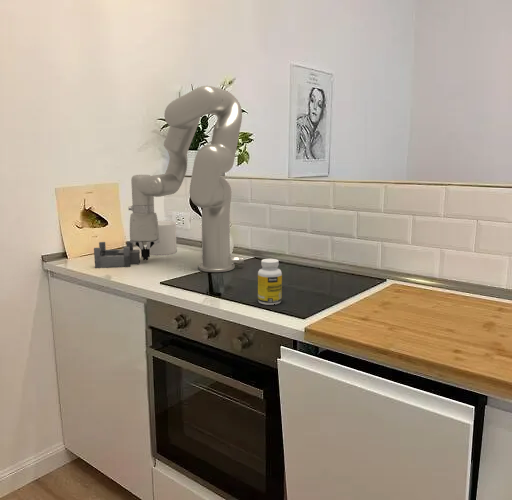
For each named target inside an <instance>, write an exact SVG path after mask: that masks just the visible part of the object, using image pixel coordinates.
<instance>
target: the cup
mask: <svg viewBox="0 0 512 500" xmlns="http://www.w3.org/2000/svg"><path fill="white" fill-rule="evenodd" d="M176 225H177V224H176V221H174V220H173V221H172V220H158V227H159V239H160V243H158V244H154V245H153V246H152V247H151V248H150V256H152V255H153V256H169V255H173V254H176V253H177V226H176Z"/></svg>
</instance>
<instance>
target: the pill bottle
mask: <svg viewBox="0 0 512 500" xmlns="http://www.w3.org/2000/svg"><path fill="white" fill-rule="evenodd" d="M279 262H280V261H279V259H276V258H265V259H261V262H260V263H261V267H262V268H259V270H258V271H257V301H258V303H259V304H262V305H266V306H274V304H275V305H279V304H280V303H281V302H282V298H283V297H282V296H283V295H282V293H283V291H282V289H283V288H282V287H283V284H282V283H283V273H282V269H280V268H279V265H280V263H279Z"/></svg>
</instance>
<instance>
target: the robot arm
mask: <svg viewBox="0 0 512 500" xmlns="http://www.w3.org/2000/svg"><path fill="white" fill-rule="evenodd" d="M163 114H164V120H165V122H166V124H167V125H168V126H169V127H168V130H167V133H166V136H165V138H164V141H163V146H164V148H165V149H166V151H167V152H168V157H169V162H168V166H167V168H166V170H165V173H160V174H153V175H150V174H134V175H132V177H131V201H132V205H130V206H128V211H131V212H132V213H130V217H129V239H130V240H129V241H130V244H133V246H137V247H138V248H139V250H140V257H141V258H142V261H148V260H149V258H150V257H151V255H150V248H151V247H152V246H153V245H154V244H158V243H160V239H159V227H158V221H159V220H158V214H157V212H155V198H154V197H156V198H159V197H165V196H171V195H174V194H176V193H177V192H178V191H179V190H180V188H181V186H182V183H183V181H184V179H185V176H186V173H187V170H188V151H189V149H190V146H191V144H192V142H193V139H194V136H195V133H196V132H197V128H198V126H199V124H200V121H201V117H203V116H205V115H210V116H211V115H213V116H216V117H217V118H216V119H217V120H216V122H215V124H214V126H213V130H212V136H211V141H210V144H209V143H208V144H205V145H204V146H201V148H200V149H199V150H198V151H197V152H196V155H195V158H194V162H193V167H192V173H191V178H190V182H189V183H190V185H189V197H190V199H191V201H192V203H193V205H195V207H198V208H202V212H201V246H202V247H201V249H202V252H201V253H202V255H201V256H202V262H201V263H199V264H198V268H197V269H198V270H199V271H202V272H204V273H205V272H206V273H222V272H224V273H225V272H229V271H232V270H234V269H235V268H236V267H235V266H236V265H235V264H244V262H245V261H244V257H242V256H241V257H239V256H232V254H231V241H230V240H231V239H230V238H231V237H230V236H231V235H230V234H231V233H230V231H231V230H230V225H231V224H230V223H231V222H230V217H231V215H230V213H231V210H230V209H231V202H232V188H231V185H230V183H229V182H228V181H227V179H225V178H223V177H221V175H222V174H225V173H228V172H230V171H231V170H232V169H233V167H234V163H235V160H236V159H235V158H236V152H237V147H238V143H239V136H240V130H241V127H242V122H243V110H242V106H241V103H240V102H239V100H238V99H237V97H235V95H233V94H232V93H231V92H229V91H228V90H225V89H223V88H219V87H215V86H212V85H202V86H199V87H196V88H195V89H193V90H190V91H189V92H187V93H185V94H183V95H181V96H179V97H177V98H175V99H174V100H172V101H170V103H168V105H167V106H166V107H165V110H164V113H163ZM145 242H146V246H144V245H145V244H144V243H145ZM141 258H140V259H141Z"/></svg>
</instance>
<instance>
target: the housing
mask: <svg viewBox="0 0 512 500" xmlns="http://www.w3.org/2000/svg"><path fill="white" fill-rule="evenodd" d="M122 247H123V248H121V249H119V248H118V249H106V241H99V242H98V247H94V248H93V256H94V268H95V269H109V268H115V269H116V268H130V267H131V266H132V265H131V262H130V250H134V244H130V240H127V241H126V246H122ZM120 250H124V255H118V252H119V251H120Z"/></svg>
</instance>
